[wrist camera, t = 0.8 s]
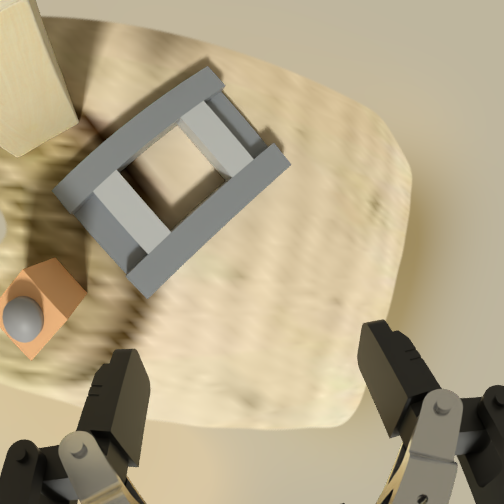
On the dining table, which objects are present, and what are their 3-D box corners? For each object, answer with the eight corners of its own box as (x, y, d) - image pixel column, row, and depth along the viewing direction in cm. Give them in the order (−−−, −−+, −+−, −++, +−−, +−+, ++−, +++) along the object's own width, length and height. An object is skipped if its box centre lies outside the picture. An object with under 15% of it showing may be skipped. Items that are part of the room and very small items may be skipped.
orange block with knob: (58, 324, 28) (27, 366, 18) (26, 290, 27) (-18, 317, 17) (87, 293, 29) (64, 324, 19) (55, 257, 28) (17, 271, 18)
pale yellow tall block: (63, 70, 26) (19, -64, 7) (81, 122, 28) (27, -3, 8) (3, 104, 24) (-87, 6, 4) (18, 159, 26) (-96, 86, 6)
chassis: (146, 294, 32) (147, 299, 29) (57, 193, 28) (51, 190, 25) (281, 168, 36) (291, 164, 33) (202, 75, 32) (207, 66, 29)
